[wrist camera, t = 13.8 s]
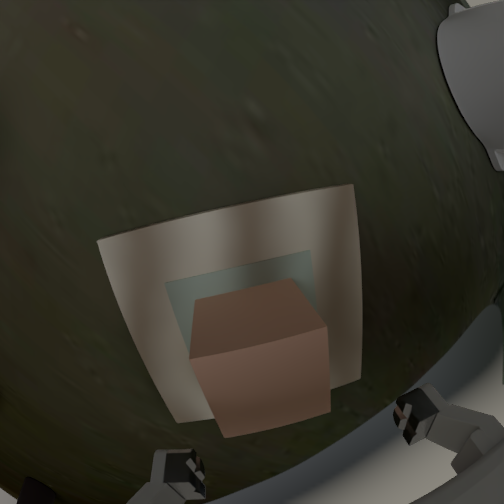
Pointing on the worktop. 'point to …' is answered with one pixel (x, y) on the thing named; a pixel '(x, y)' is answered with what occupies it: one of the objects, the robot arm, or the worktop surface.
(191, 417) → the beige square mat
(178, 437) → the worktop surface
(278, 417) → the cube
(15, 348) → the worktop surface
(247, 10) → the worktop surface
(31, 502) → the bottle
